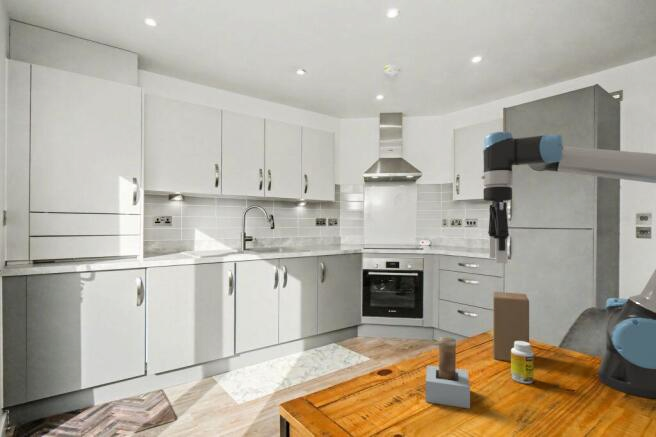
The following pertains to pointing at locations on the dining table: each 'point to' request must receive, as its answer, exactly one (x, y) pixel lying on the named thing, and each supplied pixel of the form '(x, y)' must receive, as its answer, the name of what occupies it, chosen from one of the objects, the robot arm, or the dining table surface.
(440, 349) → the peg
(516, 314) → the wooden block
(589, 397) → the dining table surface
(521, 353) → the supplement bottle
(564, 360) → the dining table surface
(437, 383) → the socket block
